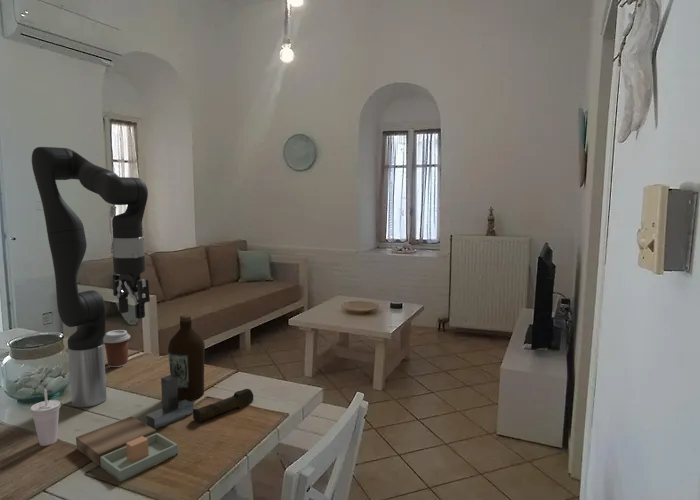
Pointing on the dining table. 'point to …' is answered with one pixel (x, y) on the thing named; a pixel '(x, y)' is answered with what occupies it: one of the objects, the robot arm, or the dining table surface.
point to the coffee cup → (116, 347)
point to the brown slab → (111, 438)
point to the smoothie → (46, 420)
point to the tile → (137, 449)
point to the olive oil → (187, 360)
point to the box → (125, 469)
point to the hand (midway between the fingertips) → (131, 315)
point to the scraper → (169, 405)
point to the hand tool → (223, 405)
